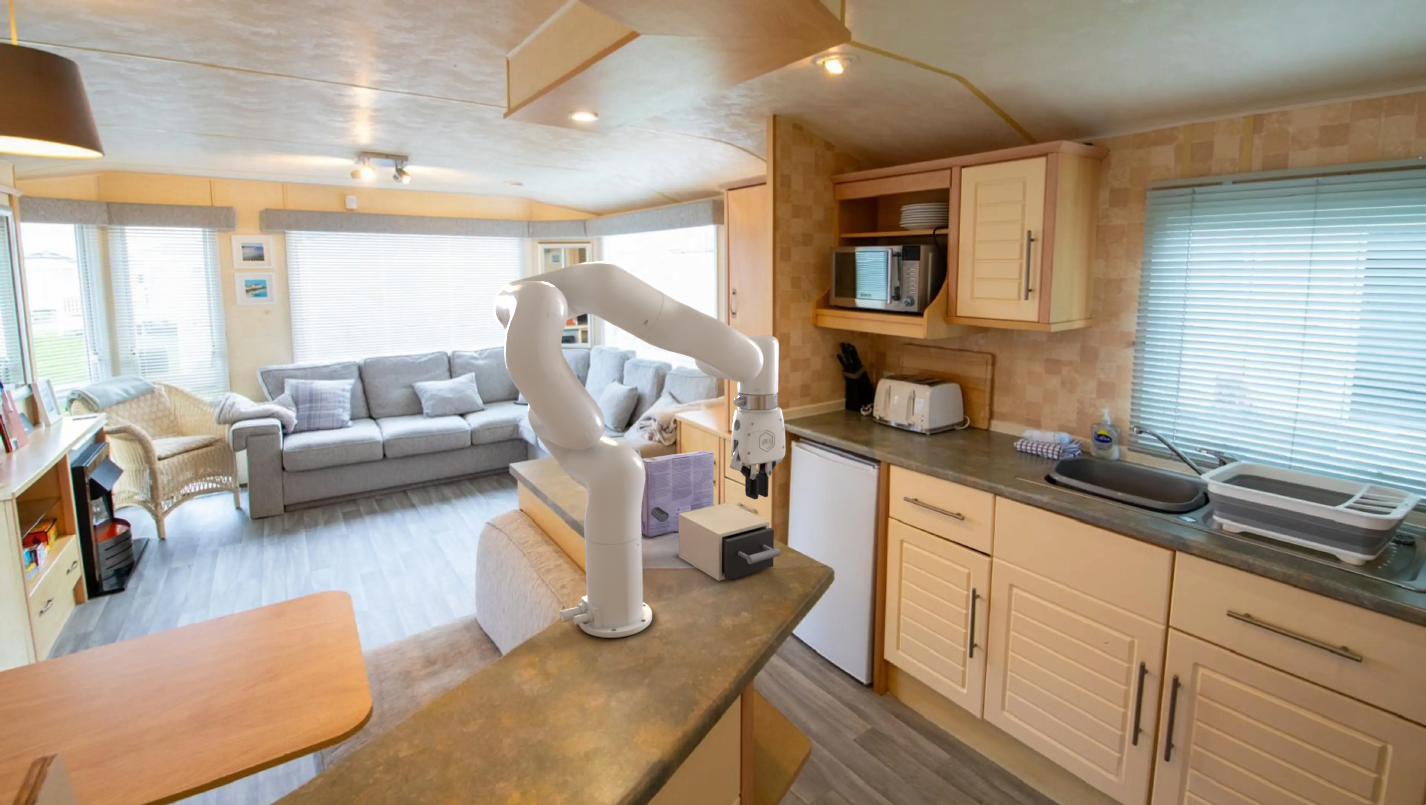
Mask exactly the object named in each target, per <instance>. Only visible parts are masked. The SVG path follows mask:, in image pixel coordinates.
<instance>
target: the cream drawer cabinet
mask: <svg viewBox="0 0 1426 805" xmlns="http://www.w3.org/2000/svg"><path fill="white" fill-rule="evenodd" d="M759 527H763V530H764V529H768V528H770V521H769V520H768V519H765V518H762V517H760V516H758V515H756V514H754V513H751V512H749V511H747V510H746V509H743V508H740V507H738V506H736V505H733V504H732V503H730V502H724V503H719V504H715V505H714V506H710V507H706V508H701V509H697V510H692V511H688V512H683V513H679V531H678V558H680V559H681V560H684V561H685V562H687V563H689V564H690V565H692V566H693V567H695V568H696V569H698V570H700V571H702V572H703V573H705V574H707V575H708V576H710V577H711V578H713V579H715V580H716V581H718V582H719V581H723V580H727V579H726V578H724V573H722V537H725V536H729V535H732V534H736V533H740V532H744V531H748V530H752V529H756V528H759Z"/></svg>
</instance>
